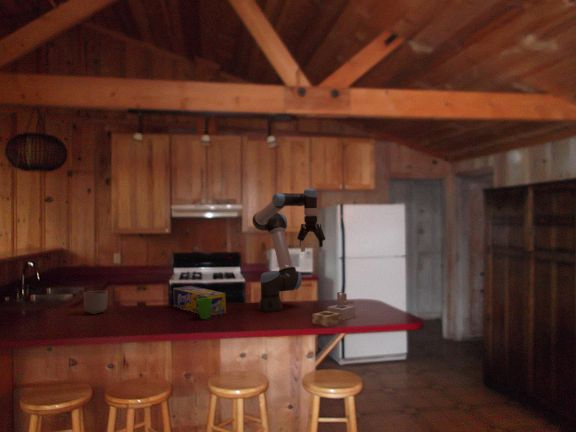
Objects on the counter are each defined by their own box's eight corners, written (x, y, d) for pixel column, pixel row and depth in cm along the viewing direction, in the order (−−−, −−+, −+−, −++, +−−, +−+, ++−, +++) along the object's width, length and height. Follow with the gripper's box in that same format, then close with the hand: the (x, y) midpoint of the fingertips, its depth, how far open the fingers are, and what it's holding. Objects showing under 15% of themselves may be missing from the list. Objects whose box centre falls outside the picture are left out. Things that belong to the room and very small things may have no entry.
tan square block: (312, 323, 240) (312, 313, 240) (326, 319, 247) (326, 310, 247) (327, 326, 232) (327, 317, 232) (341, 323, 239) (341, 313, 239)
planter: (112, 311, 279) (112, 290, 279) (99, 316, 265) (99, 294, 265) (92, 310, 282) (92, 290, 282) (78, 315, 268) (78, 294, 268)
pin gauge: (340, 316, 255) (340, 291, 255) (346, 317, 252) (345, 292, 252) (336, 317, 253) (335, 292, 253) (341, 318, 250) (341, 293, 250)
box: (172, 307, 288) (172, 287, 288) (191, 304, 298) (191, 285, 298) (206, 317, 259) (206, 295, 259) (226, 313, 268) (226, 292, 268)
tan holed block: (327, 317, 253) (327, 307, 253) (340, 314, 260) (339, 304, 260) (342, 320, 245) (342, 309, 245) (355, 317, 252) (354, 306, 252)
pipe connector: (353, 312, 266) (352, 295, 266) (336, 311, 268) (336, 294, 268) (353, 308, 276) (353, 292, 276) (337, 308, 278) (337, 292, 278)
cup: (215, 317, 257) (215, 298, 257) (206, 321, 249) (206, 301, 249) (202, 316, 261) (202, 297, 261) (193, 319, 252) (193, 300, 252)
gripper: (291, 215, 266) (291, 251, 266) (322, 215, 248) (322, 253, 248) (300, 215, 271) (300, 250, 271) (331, 215, 253) (331, 252, 253)
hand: (311, 252), depth 259 cm, fingers open, 13 cm apart
